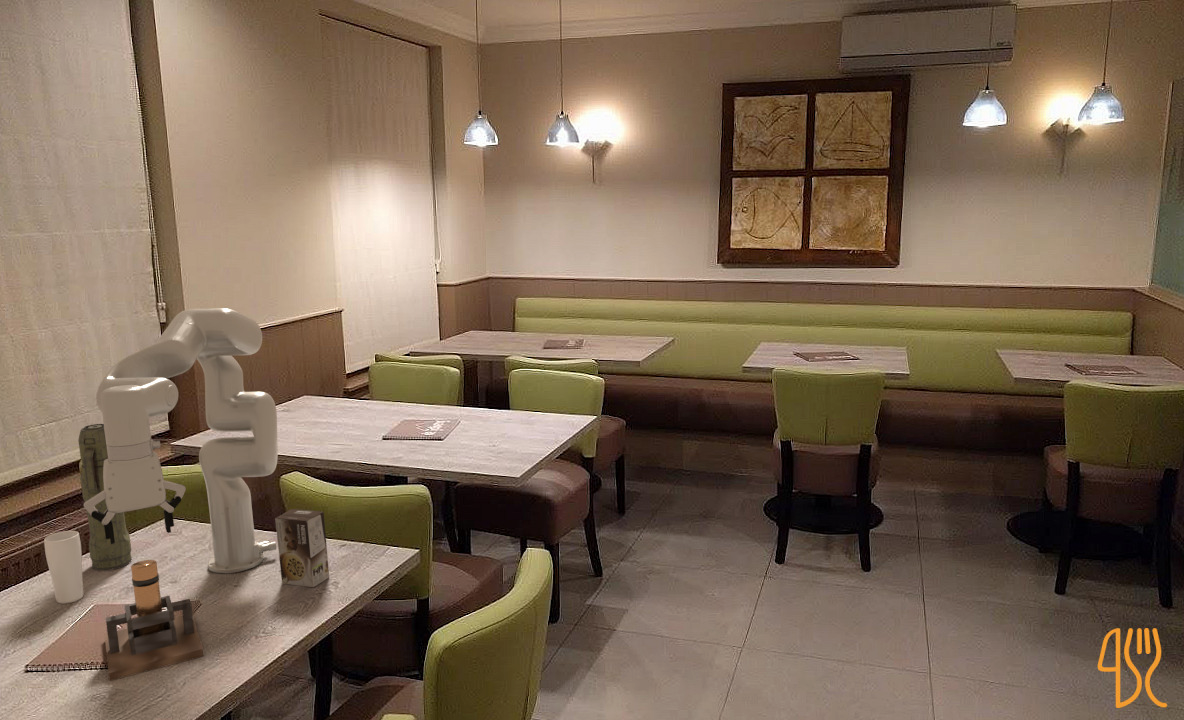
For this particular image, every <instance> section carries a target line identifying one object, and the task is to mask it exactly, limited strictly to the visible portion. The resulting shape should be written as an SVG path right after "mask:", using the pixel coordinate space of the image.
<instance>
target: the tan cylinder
mask: <svg viewBox="0 0 1184 720" xmlns="http://www.w3.org/2000/svg"><path fill="white" fill-rule="evenodd" d="M157 563H158V561H156V560H154V559H146V560H145V559H144V560H140V561H137V562H135V563H133V564H131V566H130V571H131V581H132V582H131V583H132V586H133V593H134V603H136V611H137V614H136V617H140V616H145V615H149V614H153V613H157V612H162V611H163V608H162V605H161V591H160V590H161V589H160V574H159V572H158V564H157ZM161 631H165V630H164V623H160V624H156V625H152V626H148V627H143V628H139V636H144V635H149V634H153V633H157V632H161Z"/></svg>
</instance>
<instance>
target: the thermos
mask: <svg viewBox="0 0 1184 720" xmlns="http://www.w3.org/2000/svg"><path fill="white" fill-rule="evenodd" d="M78 448H79V456H80V460H81V462H82V463H81V472H80V473H81V474H80V476H79V479H80V486H81V487H80V488H81V492H82V500H83V502H84V503H85V502H86V501H88V500H89V499H91V498H92V497H94V496H96V495H97V494H99V493H100V492H102V491H103V490H104V480H103V466H104V460H106V459H108V453H107V445H106V438H105V430H104V423H96V424H95V423H94V424H88V425H86V426H83V428H81V429H80V431H79V436H78ZM94 507H95V508H96V509H97V510H98V511H100V512H102V513H103V514H104V512H105V511H106V510H107V505H106V501H105V499H104V500H102V501H101V502H99V503H98V504H96V505H95V506H94ZM86 515H87V522H88V529H89V541H88V550H89V558H90V560H91V563H92V564H91V566H92V567H91V568H92V569H93V570H94V571H97V572H99V571H100V572H101V571H104V572H105V571H110V570H111V571H112V570H117V569H119V567H120V568H122V566H123V567H125V566H127V565H129V564H130V563H132V561H131V560H133V559H132V558H133V557H132V553H131V552H132V544H131V543H132V542H131V536H130V533H129V530H128V529H127V525H126V516H125V512H120V513H116V514H115V515H114V516H113V518H112V519H111V520H112V524H113V531H114V539H115V543H114V544H111V542H110V539H106V536H105V529H104V524H102V523H101V522H100V521H98V520H96V519H94V518H93V517H92V516H91V515H90V513H89V512H88V511H87V510H86ZM129 562H130V563H129ZM128 563H129V564H128ZM126 564H127V565H126ZM124 565H125V566H124Z"/></svg>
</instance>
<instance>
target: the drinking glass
mask: <svg viewBox="0 0 1184 720" xmlns="http://www.w3.org/2000/svg"><path fill="white" fill-rule="evenodd" d="M43 541H44V543H43V544H44V552H45V557H46V563H47V565H48V566H47V567H48V571H49V575H50V578H51V582H52V585H53V586H52V587H53V590H54V595H55V596H54V597H55V601H56V603H58V604H63V605H65V604H70V603H71V604H72V603H75V602H77V601H79V600H81V599H82V598H83V596H84V593H85V592H84V585H83V583H84V582H83V558H82V556H83V555H82V543H81V538H80V533H79V531H76V530H63V531H58V532H54V533H51V534H49V535H47V536H45V538H44V540H43Z"/></svg>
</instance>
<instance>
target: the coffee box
mask: <svg viewBox="0 0 1184 720" xmlns="http://www.w3.org/2000/svg"><path fill="white" fill-rule="evenodd" d="M274 520H275V529H276V539H277V547H278V557H279V568H280V577H281V584H285V585H293V586H300V587H308V588H309V587H310V588H314V587H315V588H316V587H317V586H318V585H320V584H321V583H322V582H324V581H326V580H327V579H329V578H330V572H329V558H328V548H327V547H328V546H327V538H326V537H327V535H326V526H325V525H326V523H325V512H324V511H321V510H320V511H319V510H308V509H297V508H296V509H295V508H291V509H289V510H287V511H286V512H283V513H282V514H280V515H278V516H276V517H275V518H274Z"/></svg>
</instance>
